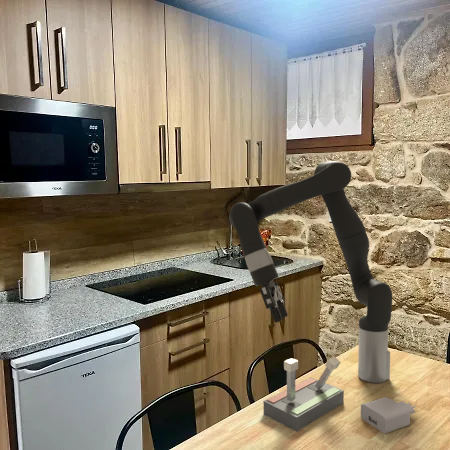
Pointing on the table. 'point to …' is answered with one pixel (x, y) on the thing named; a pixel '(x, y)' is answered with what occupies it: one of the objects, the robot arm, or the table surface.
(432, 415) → the table surface
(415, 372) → the table surface
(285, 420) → the switch box
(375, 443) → the table surface
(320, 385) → the lever on
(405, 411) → the charger
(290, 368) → the switch lever
